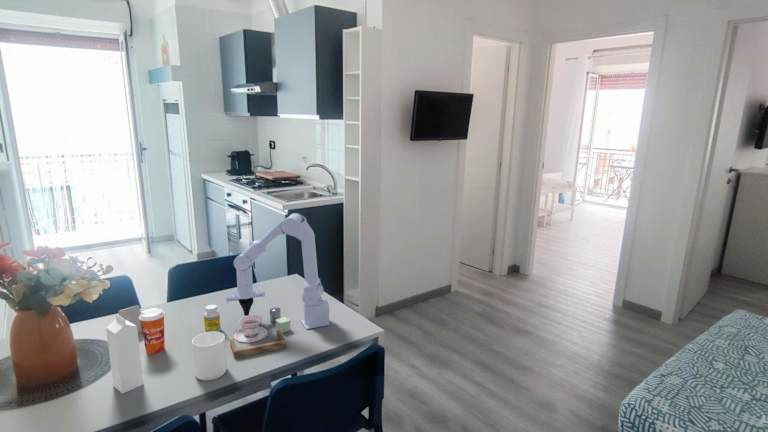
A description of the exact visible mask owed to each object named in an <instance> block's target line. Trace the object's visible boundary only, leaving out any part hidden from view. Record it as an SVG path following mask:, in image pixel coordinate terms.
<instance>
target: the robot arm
mask: <svg viewBox="0 0 768 432" xmlns="http://www.w3.org/2000/svg"><path fill="white" fill-rule="evenodd" d="M281 235H282V236H283V235H288V236H291V237H293V238H296V239H297V240H299V241H300V243H301V253H302V263H303V275H304V283H303V284H304V285H303V293H302V295H301V300H302V302H303V319H301V320H300V321H301V323H302V325H303V326H304V328H305V329H306V330H310V329H314V328H321V327H325V326H330V324H331V323H330V307H329V302H328V300H326V299H323V298H322V296H323V294H324V286H323V284H322V283H321V278H319V273H318V259H317V249H316V239H315V237H316V235H315V232H314V230H313V228H312V227H311V226H310V224H309V223H308V220H307V218H306V217H305V216H303V215H302V214H300V213H297V212H293V213H290V215H289V216H287V217H286V218H284V219H283V220H281V221H280V222H278V223H277V224H275V225H274V226H273V227H272V228H271V229H270V230H269V231H268V232H266V234H265V235H264V236H263V237H262V238H260V240H259V239H256V240H254V241H253V240H252V241H251V242H249V244H248V246H247V247H246V248H245V249H243V250H241V254H239V255H237V256H236V257H235V259H234V260H233V267H234V268H235V270H236V285H237V293H234V294H230V295H225V303H230V302H234V301H235V302H237V301H238V303H239V304H240V306H241V309H242V311H243V317H244V316H247V315H250V311H251V308H252V305H253V304H254V299H255V298H259V297H262V298H264V297H266V295H265V294H266V291H265V290H254V288H253V287H254V286H253V282H254V281H253V268H252V267H253V264H254V263H255V261H257V260H258V259H259V258H260V257H261V256H262V255H264V254H265V252H267V251H266V250H267V246H268V245H269V244H270V243H272V241H273V240H275V239H276V238H277V237H278V236H281Z"/></svg>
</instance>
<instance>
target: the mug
mask: <svg viewBox="0 0 768 432" xmlns="http://www.w3.org/2000/svg"><path fill="white" fill-rule="evenodd" d="M191 346H192V347H191V348H192V360H193V371H194V372H193V373H194V375H195V378H197V379H198V380H201V381H205V382H206V381H213V380H217V379H219V378H220V377H222V376H223V375H225V373H227V372H226V371H227V366H228V365H227V363H228V362H227V350H226V347H227V346H226V335H225V334H224V333H223V332H220V331H218V332H216V331H212V332H206V331H205V332H202V333H199V334H197V335H196V336H194V337H193V338H192V340H191Z"/></svg>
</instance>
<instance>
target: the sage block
mask: <svg viewBox="0 0 768 432" xmlns="http://www.w3.org/2000/svg"><path fill="white" fill-rule="evenodd" d="M275 322H276V324H275V331H276V330H280V331H281V333H282V334H283V333H285V332H288V331H291V320H290V319H289V318H288V317H286V316H282V317H281V318H279V319H276V320H275Z"/></svg>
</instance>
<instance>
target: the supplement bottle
mask: <svg viewBox="0 0 768 432" xmlns="http://www.w3.org/2000/svg"><path fill="white" fill-rule="evenodd" d="M204 309H205V312H204V314H203V319H204V331H205V332H212V331H216V332H220V330H221V320H220V318H221V316H220V311H219V310H218V306H217V305H216V304H209V305H206V306H205V308H204Z"/></svg>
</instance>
